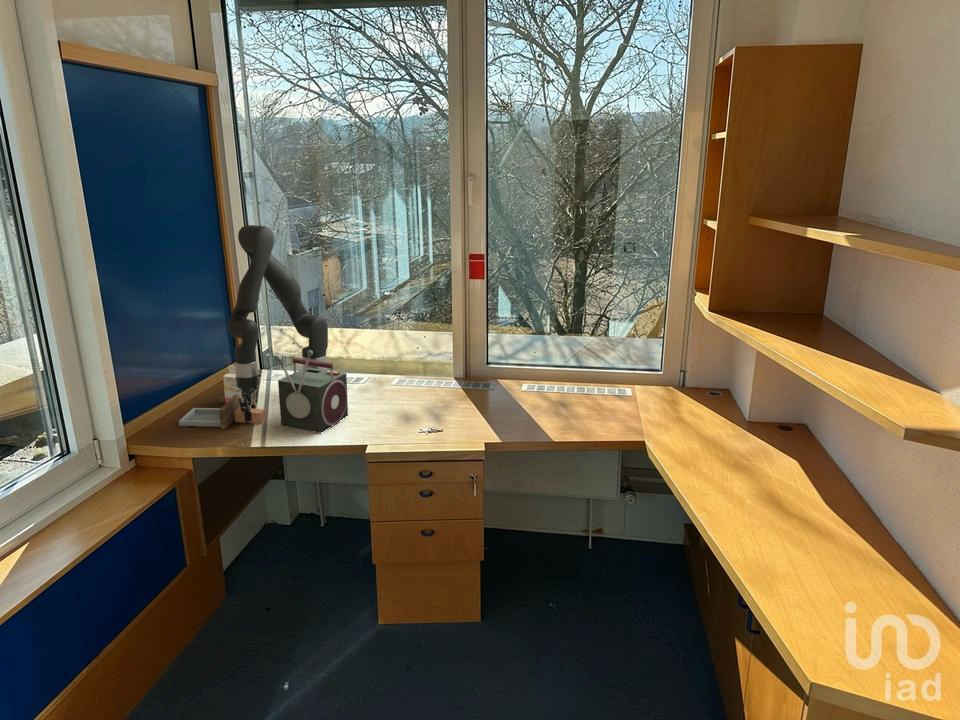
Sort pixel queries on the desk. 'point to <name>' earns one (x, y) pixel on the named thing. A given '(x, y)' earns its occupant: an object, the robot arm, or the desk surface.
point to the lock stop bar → (256, 415)
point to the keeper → (202, 418)
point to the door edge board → (229, 411)
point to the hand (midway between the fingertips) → (250, 418)
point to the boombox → (312, 396)
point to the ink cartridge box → (231, 384)
